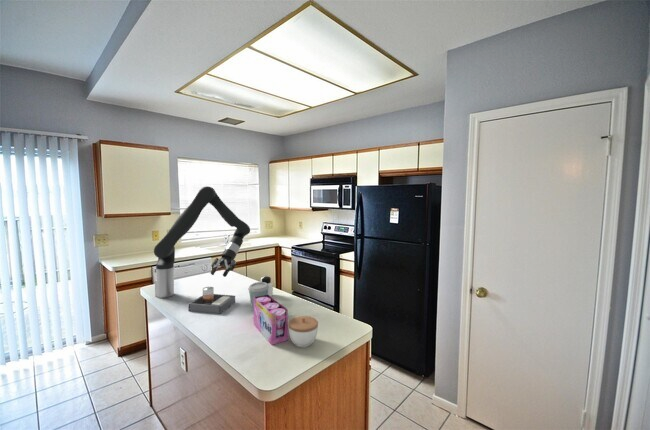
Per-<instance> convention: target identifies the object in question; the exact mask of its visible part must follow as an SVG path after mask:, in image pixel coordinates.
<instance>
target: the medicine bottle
mask: <svg viewBox="0 0 650 430" xmlns="http://www.w3.org/2000/svg"><path fill="white" fill-rule="evenodd" d="M271 280H272V278H271V277H270V276H267V275H266V276H263V277H262V276H261V278H260V282H266V283H267V284H268V286H269V288H268V294H267V295H269V296H271V297H272V296H273V290H274V287H273V286H274V283H271Z"/></svg>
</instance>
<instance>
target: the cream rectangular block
mask: <svg viewBox="0 0 650 430" xmlns="http://www.w3.org/2000/svg"><path fill="white" fill-rule="evenodd" d="M230 298H231V297H228V296H223V297H221V298H220V299H218V300H217V301H215V302H214V303H212V304H211V305H216V306H220V305H221V304H223V303H224V302H226V301H227V300H228V299H230Z"/></svg>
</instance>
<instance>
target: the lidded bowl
mask: <svg viewBox="0 0 650 430" xmlns="http://www.w3.org/2000/svg"><path fill="white" fill-rule="evenodd" d="M318 326H319V322H318V320H317V319H316V318H315V317H312V316H307V315H301V316H300V315H299V316H294V317H292V318H290V320H288V335H289V336H288V337H289V339H290V341H291V342H292V343H293V344H294V345H295V346H296V347H298V348H307V347H310V346H311V345H312V344H313V342H314V341H315V340H316V338H317V337H318V336H317V334H318V330H319V329H318V328H319V327H318Z"/></svg>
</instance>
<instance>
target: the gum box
mask: <svg viewBox="0 0 650 430" xmlns="http://www.w3.org/2000/svg"><path fill="white" fill-rule="evenodd" d="M288 312H289V310H288V308H286V307H285V306H284V305H283V304H281V303H280V302H278V301H277V300H276V299H275V298H273V297H272V296H269V295H263V296H257V297H254V312H253V325H254V327H255V328H256V329H257V330H258V331H259V332H260V333H261V334H262V336H263V338H265V339H266V340H267V342H269V344H270V345H271V346H273V345H275V344H276V345H277V344H279V343H283V342H286V341H288V340H289V338H288V337H289V336H288V335H289V326H288V322H289V319H288V318H289V317H288V316H289V315H288V314H289V313H288Z"/></svg>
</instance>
